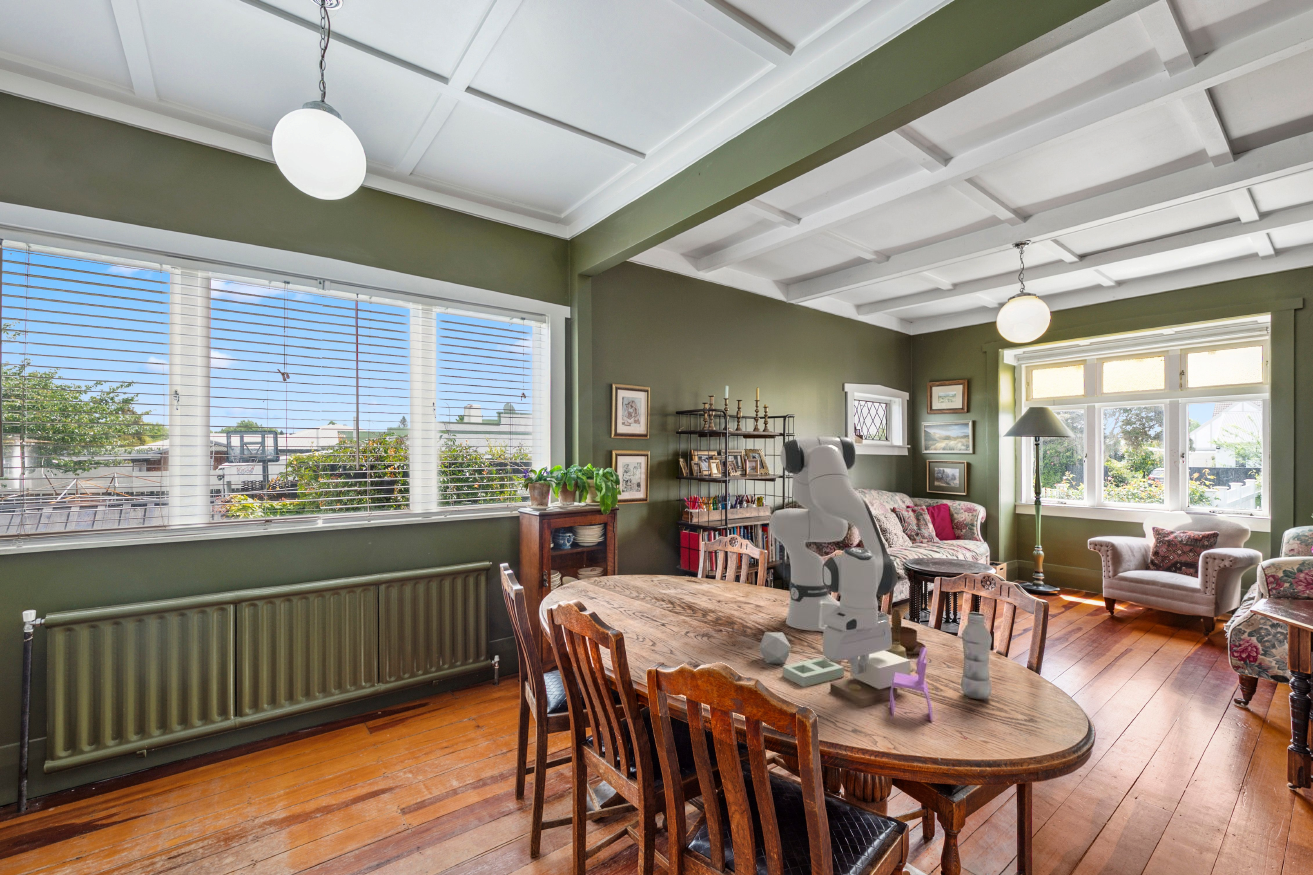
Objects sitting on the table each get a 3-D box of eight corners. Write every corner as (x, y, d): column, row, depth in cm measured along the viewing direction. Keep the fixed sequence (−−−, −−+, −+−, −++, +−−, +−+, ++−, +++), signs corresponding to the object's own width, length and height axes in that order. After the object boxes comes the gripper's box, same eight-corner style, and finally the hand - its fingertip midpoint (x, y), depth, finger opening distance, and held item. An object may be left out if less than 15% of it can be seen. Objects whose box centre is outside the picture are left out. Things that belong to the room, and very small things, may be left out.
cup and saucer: (914, 661, 166) (914, 639, 166) (874, 649, 175) (874, 629, 175) (932, 651, 174) (932, 630, 174) (893, 641, 183) (893, 621, 183)
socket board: (821, 666, 161) (821, 657, 161) (844, 676, 154) (844, 667, 154) (782, 675, 154) (782, 666, 154) (803, 687, 147) (803, 677, 147)
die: (783, 672, 158) (799, 640, 161) (755, 654, 160) (772, 623, 163) (777, 672, 166) (792, 641, 169) (750, 655, 168) (766, 625, 171)
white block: (880, 668, 153) (880, 648, 153) (910, 680, 145) (910, 660, 145) (850, 676, 147) (850, 656, 147) (879, 689, 139) (879, 668, 140)
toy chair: (891, 701, 139) (892, 638, 139) (932, 709, 136) (932, 644, 136) (889, 716, 132) (889, 649, 132) (932, 724, 128) (932, 655, 128)
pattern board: (864, 682, 151) (864, 672, 151) (897, 697, 142) (897, 687, 142) (830, 691, 145) (830, 681, 145) (862, 707, 136) (862, 697, 136)
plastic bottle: (954, 694, 144) (954, 612, 144) (974, 689, 146) (974, 609, 147) (978, 705, 138) (978, 619, 138) (998, 700, 140) (998, 616, 141)
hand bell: (875, 667, 161) (876, 609, 161) (887, 659, 167) (887, 603, 167) (906, 675, 155) (907, 615, 155) (917, 667, 161) (918, 609, 161)
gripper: (877, 607, 151) (877, 661, 151) (818, 618, 141) (818, 675, 141) (898, 613, 145) (898, 669, 145) (838, 625, 135) (837, 685, 135)
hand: (858, 672), depth 143 cm, fingers closed
